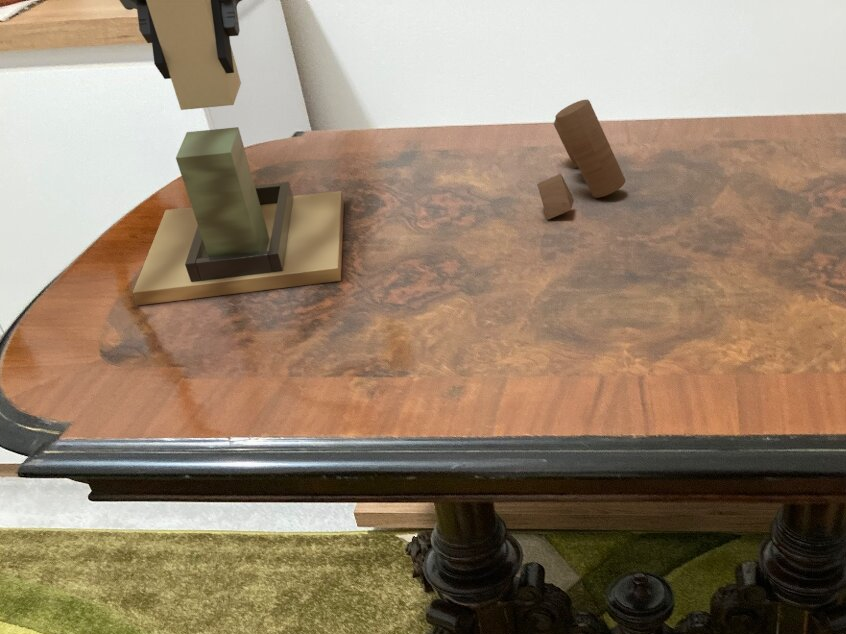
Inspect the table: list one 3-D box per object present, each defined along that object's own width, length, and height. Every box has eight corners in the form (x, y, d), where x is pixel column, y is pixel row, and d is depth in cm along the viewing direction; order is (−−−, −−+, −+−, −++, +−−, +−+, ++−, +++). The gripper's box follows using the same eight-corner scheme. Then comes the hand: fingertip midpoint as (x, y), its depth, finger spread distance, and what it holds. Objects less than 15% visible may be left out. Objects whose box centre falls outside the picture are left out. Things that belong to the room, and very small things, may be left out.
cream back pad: (180, 110, 90) (137, -26, 82) (191, 87, 95) (151, -41, 87) (233, 105, 90) (195, -30, 83) (241, 83, 96) (206, -46, 88)
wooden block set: (569, 177, 119) (533, 103, 114) (630, 150, 117) (596, 73, 111) (554, 233, 105) (511, 151, 100) (623, 204, 102) (583, 118, 97)
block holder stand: (137, 305, 92) (85, 175, 83) (169, 221, 107) (128, 104, 99) (341, 280, 94) (310, 152, 86) (344, 202, 110) (318, 86, 101)
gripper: (271, -134, 95) (300, 79, 92) (86, -122, 92) (111, 97, 90) (252, -192, 87) (283, 38, 85) (50, -181, 85) (77, 56, 83)
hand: (195, 68), depth 87 cm, fingers closed on cream back pad, 5 cm apart
